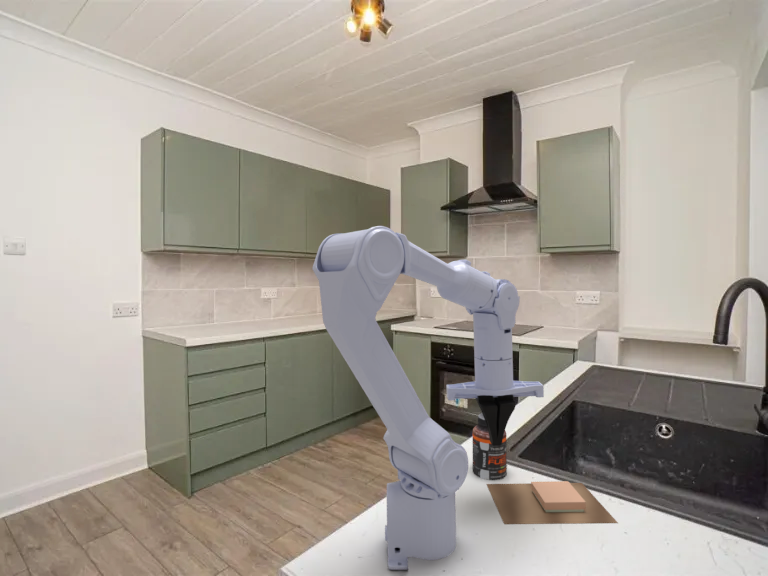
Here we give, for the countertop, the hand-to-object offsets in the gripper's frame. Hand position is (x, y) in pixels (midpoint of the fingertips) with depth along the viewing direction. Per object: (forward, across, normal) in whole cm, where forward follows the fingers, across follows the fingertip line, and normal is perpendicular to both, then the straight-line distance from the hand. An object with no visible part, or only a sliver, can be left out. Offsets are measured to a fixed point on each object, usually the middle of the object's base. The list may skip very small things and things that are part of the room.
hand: (495, 443), depth 63 cm
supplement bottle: (+11, -1, -9) cm, 14 cm away
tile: (+8, -6, 0) cm, 10 cm away
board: (+10, -7, 0) cm, 13 cm away
